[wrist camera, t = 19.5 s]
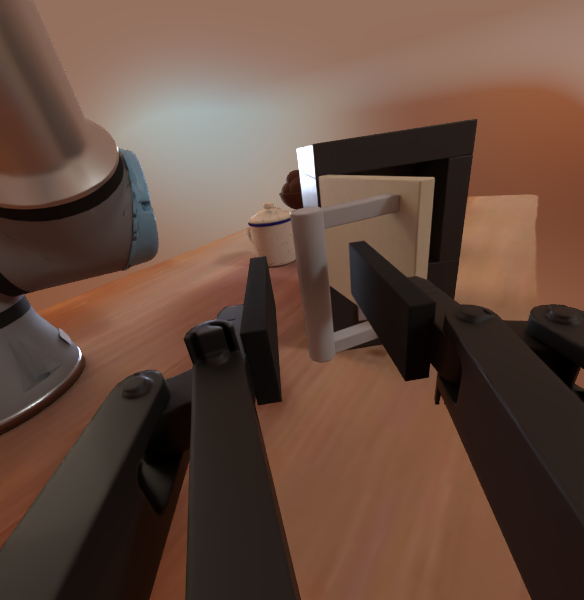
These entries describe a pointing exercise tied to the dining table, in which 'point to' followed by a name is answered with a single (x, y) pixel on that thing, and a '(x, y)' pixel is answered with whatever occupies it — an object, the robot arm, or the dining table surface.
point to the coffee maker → (410, 163)
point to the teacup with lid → (272, 235)
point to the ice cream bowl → (292, 191)
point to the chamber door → (352, 228)
